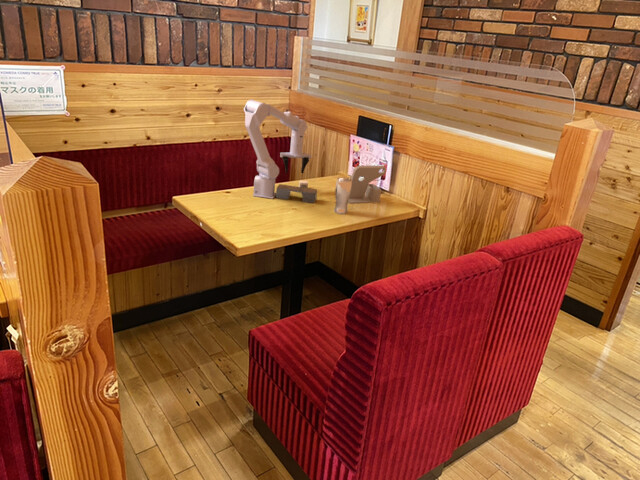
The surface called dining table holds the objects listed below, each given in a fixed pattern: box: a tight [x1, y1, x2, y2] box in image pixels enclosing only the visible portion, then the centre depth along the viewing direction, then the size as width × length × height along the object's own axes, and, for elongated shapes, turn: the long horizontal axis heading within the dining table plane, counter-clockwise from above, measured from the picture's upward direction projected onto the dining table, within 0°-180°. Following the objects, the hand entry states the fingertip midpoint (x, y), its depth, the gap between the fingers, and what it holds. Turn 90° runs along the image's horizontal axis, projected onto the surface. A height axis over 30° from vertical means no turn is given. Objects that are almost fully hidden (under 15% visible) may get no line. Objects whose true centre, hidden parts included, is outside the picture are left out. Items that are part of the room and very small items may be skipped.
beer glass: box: [333, 176, 352, 215], centre depth 218 cm, size 7×7×15 cm
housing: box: [275, 183, 318, 204], centre depth 230 cm, size 18×6×5 cm, turn 82°
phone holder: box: [348, 165, 387, 205], centre depth 236 cm, size 17×10×18 cm, turn 112°
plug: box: [298, 180, 309, 197], centre depth 241 cm, size 4×14×4 cm, turn 6°
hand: (294, 172), depth 238 cm, fingers open, 7 cm apart
